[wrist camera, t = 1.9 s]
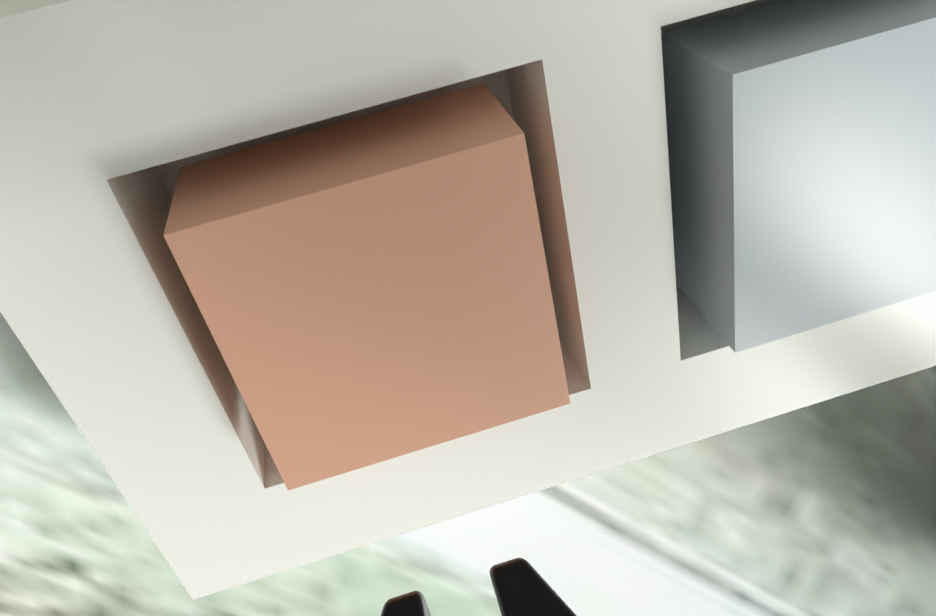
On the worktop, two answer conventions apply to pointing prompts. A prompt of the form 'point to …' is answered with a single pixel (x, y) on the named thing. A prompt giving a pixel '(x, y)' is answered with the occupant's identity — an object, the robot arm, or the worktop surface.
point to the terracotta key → (375, 282)
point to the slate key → (802, 162)
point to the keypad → (320, 105)
